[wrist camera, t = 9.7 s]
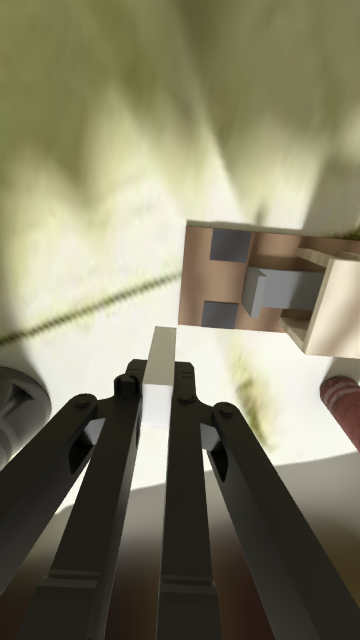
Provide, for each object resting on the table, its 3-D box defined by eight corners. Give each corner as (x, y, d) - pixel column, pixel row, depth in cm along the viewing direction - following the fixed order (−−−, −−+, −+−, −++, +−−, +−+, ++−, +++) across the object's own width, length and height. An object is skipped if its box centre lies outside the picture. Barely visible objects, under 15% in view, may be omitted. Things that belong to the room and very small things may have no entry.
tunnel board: (178, 323, 39) (176, 356, 30) (186, 225, 33) (187, 231, 25) (370, 337, 40) (424, 374, 31) (409, 245, 34) (488, 257, 25)
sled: (241, 302, 36) (252, 321, 30) (248, 266, 34) (261, 278, 28) (385, 314, 37) (424, 334, 31) (400, 279, 35) (445, 293, 29)
